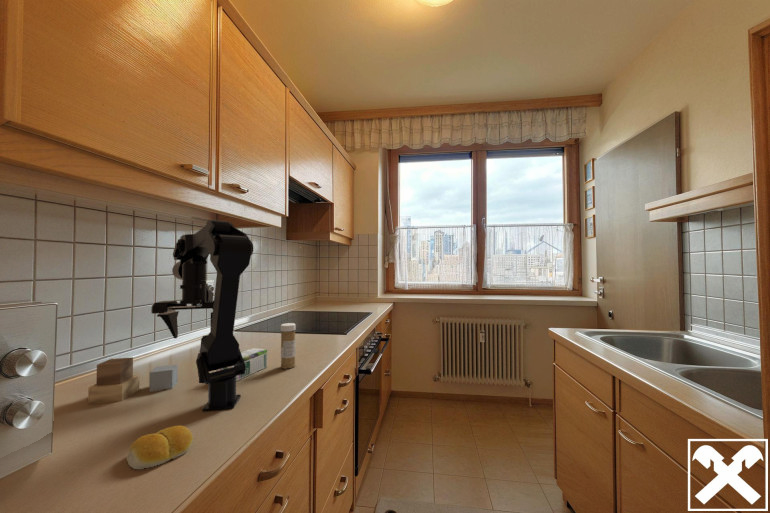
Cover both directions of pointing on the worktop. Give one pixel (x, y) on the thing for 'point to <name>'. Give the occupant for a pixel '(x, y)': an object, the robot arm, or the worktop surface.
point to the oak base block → (113, 391)
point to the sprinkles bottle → (288, 345)
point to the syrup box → (252, 361)
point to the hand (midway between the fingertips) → (194, 337)
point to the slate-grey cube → (163, 377)
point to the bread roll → (159, 447)
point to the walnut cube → (114, 371)
